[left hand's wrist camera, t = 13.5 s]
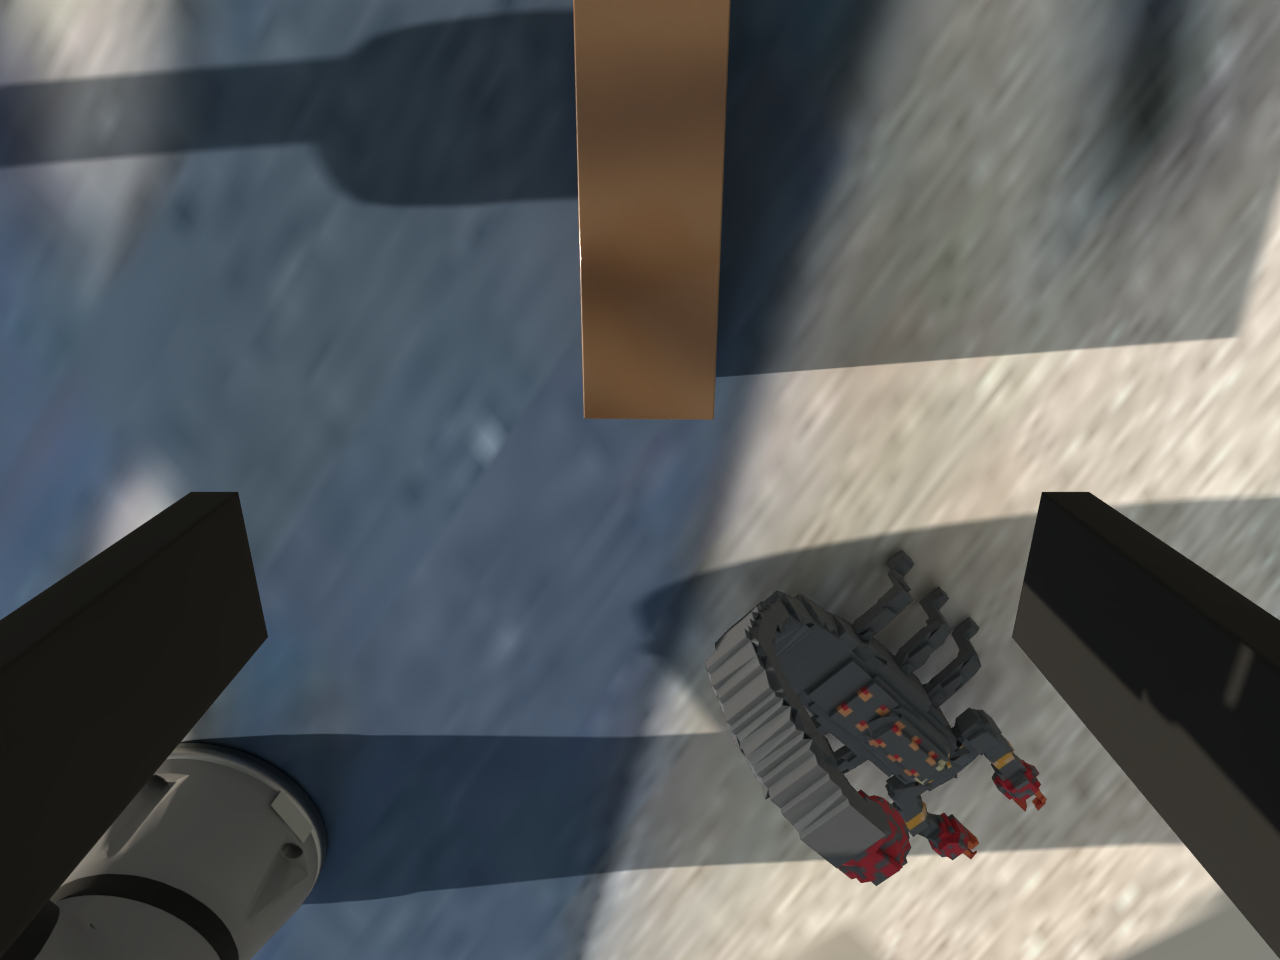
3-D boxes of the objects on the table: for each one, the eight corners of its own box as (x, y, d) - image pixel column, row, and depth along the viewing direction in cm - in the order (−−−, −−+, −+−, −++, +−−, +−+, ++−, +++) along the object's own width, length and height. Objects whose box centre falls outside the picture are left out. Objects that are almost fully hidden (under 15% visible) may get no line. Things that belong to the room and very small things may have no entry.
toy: (797, 446, 41) (900, 632, 24) (1078, 724, 48) (1314, 1022, 31) (628, 599, 45) (616, 853, 28) (911, 837, 52) (1040, 1160, 35)
